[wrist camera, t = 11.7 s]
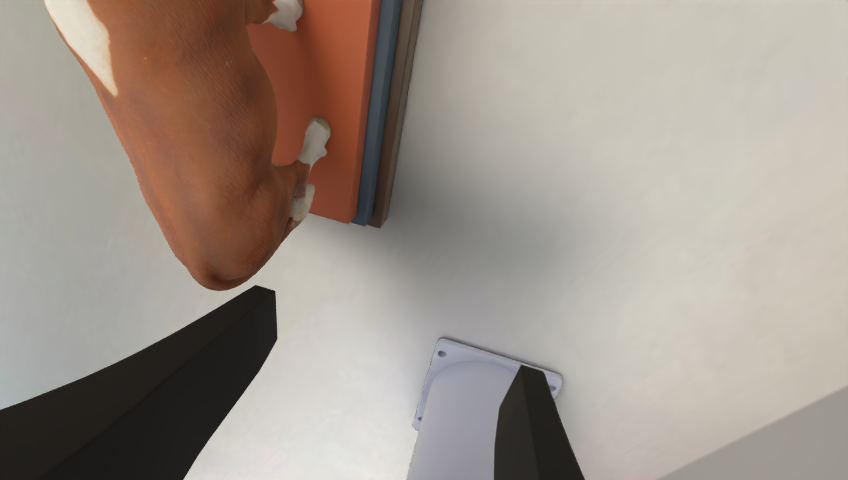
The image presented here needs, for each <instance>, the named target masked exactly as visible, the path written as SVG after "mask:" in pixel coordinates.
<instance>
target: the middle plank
mask: <svg viewBox="0 0 848 480" xmlns="http://www.w3.org/2000/svg"><path fill="white" fill-rule="evenodd" d="M401 4H402V0H381V4H380V13H379V22H378V30H377V39H376V48H375V56H374V65H373V74H372V82H371V91H370V100H369V108H368V117H367V126H366V134H365V143H364V152H363V160H362V169H361V178H360V186H359V195H358V204H357V212H356V216H355V217H354V218H353V219H352V221H351V223H355V224H358V225H362V226H366V224H367V223H368V222H369V221H370V219H371V218H372V212H373V205H374V198H375V190H376V183H377V176H378V169H379V162H380V155H381V147H382V140H383V133H384V126H385V119H386V112H387V105H388V97H389V90H390V83H391V76H392V69H393V62H394V54H395V47H396V40H397V33H398V26H399V19H400V11H401Z"/></svg>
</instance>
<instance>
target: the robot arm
mask: <svg viewBox="0 0 848 480" xmlns="http://www.w3.org/2000/svg"><path fill="white" fill-rule="evenodd" d="M276 340H277V318H276V296H275V291H274V290H270V289H267V288H264V287H260V286H257V285H255V286H253V287H252V288H250V289H248V290H246V291H245V292H243V293H241V294H240V295H238V296H236V297H235V298H233V299H231V300H230V301H228V302H226V303H225V304H223V305H221V306H220V307H218V308H216V309H215V310H213V311H211V312H210V313H208V314H206V315H205V316H203V317H201V318H199V319H198V320H196V321H194V322H192V323H191V324H189V325H187V326H186V327H184V328H182V329H180V330H179V331H177V332H175V333H173V334H171V335H170V336H168V337H166V338H164V339H162V340H160V341H158V342H156V343H154V344H152V345H151V346H149V347H147V348H145V349H143V350H141V351H139V352H137V353H135V354H133V355H131V356H129V357H127V358H125V359H123V360H121V361H119V362H117V363H115V364H113V365H110V366H108V367H106V368H104V369H102V370H99V371H97V372H95V373H93V374H91V375H88V376H86V377H84V378H81V379H79V380H77V381H74V382H72V383H69V384H67V385H64V386H62V387H59V388H57V389H54V390H52V391H49V392H47V393H44V394H42V395H39V396H37V397H34V398H32V399H29V400H26V401H24V402H21V403H18V404H16V405H13V406H10V407H7V408H4V409H2V410H0V480H183V479H184V478H185V476H186V474H187V473H188V471H189V469H190V468H191V466H192V464H193V463H194V461H195V460H196V458H197V456H198V455H199V453H200V452H201V450H202V449H203V448H204V446H205V445H206V443H207V442H208V440H209V439H210V437H211V436H212V435H213V433H214V432H215V431H216V429H217V428H218V427H219V425H220V424H221V423H222V421H223V420H224V418H225V417H226V416H227V414H228V413H229V412H230V410H231V409H232V408H233V406H234V405H235V404H236V402H237V401H238V400H239V398H240V397H241V395H242V394H243V393H244V391H245V390H246V389H247V387H248V386H249V384H250V383H251V382H252V380H253V379H254V378H255V376H256V375H257V373H258V372H259V371H260V369H261V367H262V365H263V364H264V362H265V360H266V359H267V357H268V355H269V353H270V351H271V350H272V348H273V346H274V344H275V342H276ZM441 351H444V352H441ZM562 386H563V378H562V376H561V375H559V374H557V373H554V372H550V371H547V370H544V369H541V368H538V367H534V366H531V365H528V364H525V363H522V362H518V361H515V360H512V359H509V358H506V357H502V356H499V355H496V354H493V353H490V352H486V351H483V350H480V349H477V348H474V347H470V346H467V345H464V344H461V343H458V342H454V341H451V340H448V339H440V340H438V342H437V344H436V348H435V351H434V354H433V358H432V361H431V364H430V368H429V371H428V374H427V378H426V381H425V384H424V388H423V391H422V394H421V398H420V401H419V404H418V407H417V411H416V414H415V417H414V421H413V424H412V426H413V428H414V429H415V430H417V431H419V432H418V436H417V440H416V444H415V448H414V452H413V455H412V459H411V463H410V467H409V471H408V475H407V479H406V480H585V479H584V476H583V474H582V472H581V470H580V467H579V465H578V462H577V460H576V458H575V455H574V453H573V450H572V448H571V445H570V443H569V440H568V438H567V435H566V433H565V430H564V427H563V425H562V422H561V419H560V417H559V414H558V411H557V408H556V405H555V403H554V399H555V397H556V396H557V394H558V392H559V391H560V389H561V387H562Z"/></svg>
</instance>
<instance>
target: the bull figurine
mask: <svg viewBox="0 0 848 480" xmlns="http://www.w3.org/2000/svg"><path fill="white" fill-rule="evenodd" d="M43 1H44V3H45V5H46V8H47V10H48V13H49V15H50V17H51V19H52V21H53V23H54V25H55V27H56V29H57V31H58V33H59V34H60V36H61V38H62V39H63V41H64V42H65V43H66V45H67V46H68V48H69V49H70V50H71V52H72V53H73V54H74V56H75V57H76V58H77V60H78V61H79V63H80V64H81V66H82V67H83V69H84V70H85V72H86V74H87V75H88V77H89V79H90V81H91V83H92V85H93V86H94V88H95V90H96V93H97V95H98V97H99V99H100V101H101V103H102V105H103V107H104V109H105V111H106V113H107V115H108V117H109V119H110V121H111V123H112V125H113V127H114V129H115V132H116V134H117V136H118V138H119V140H120V142H121V144H122V146H123V148H124V149H125V151H126V153H127V155H128V157H129V159H130V161H131V163H132V165H133V168H134V170H135V173H136V176H137V179H138V182H139V185H140V188H141V191H142V194H143V196H144V198H145V200H146V202H147V204H148V206H149V208H150V210H151V212H152V213H153V215H154V217H155V219H156V220H157V222H158V224H159V226H160V228H161V230H162V232H163V234H164V236H165V238H166V240H167V242H168V244H169V246H170V248H171V249H172V251H173V253H174V254H175V256H176V257H177V258H178V259H179V260H180V261H181V262H182V264H183V265H184V266H186V267H187V269H188V271H189V272H190V274H191V275H192V277H193V278H194V279H195V280H196V281H197V282H198V283H199V284H200V285H202V286H203V287H205V288H207V289H211V290H216V291H222V290H229V289H232V288H235V287H237V286H239V285H241V284H242V283H244V282H246V281H247V280H249V279H250V278H251V277H252V276H253V275H255V274H256V273H257V272H258V271H259V270H260V269H261V268H262V267H263V266H264V265H265V264H266V262H267V261H268V260H269V259H270V258H271V257H272V255H273V254H274V253H275V251H276V250H277V249H278V247H279V246H280V244H281V243H282V242H283V241H284V239H285V238H286V237H287V236H288V235H289V233H290V232H291V231H292V230H293V229H294V228H296V227H297V226H298V225H299V224H300V223H301V222H302V221H303V219H304V218H305V217H306V215H307V214H308V212H309V210H310V207H311V203H312V201H313V195H314V193H315V187H314V185H313V184H307V180H308V177H309V173H310V171H311V169H312V166H313V165H314V163H315V162H316V161H317V160H318V159H319V158H320V157H323V156H325V155H326V154H327V150H326V149H325V144H326V142H327V140H328V139H329V138H330V137H331V133H332V132H331V127H330V125H329V124H328V122H327V121H326V120H325V119H323V118H319V117H313V118H312V119H311V121H310V122H309V124H308V128H307V130H306V133H305V139H304V146H303V149H302V151H301V153H300V155H299V156H298V158H297V159H296V160H295V161H294V162H293V163H291V164H290V165H286V166H282V165H280V164H273V163H272V154H273V150H274V146H275V142H276V137H277V129H278V111H277V102H276V97H275V93H274V90H273V87H272V84H271V82H270V79H269V77H268V75H267V73H266V71H265V69H264V68H263V66H262V64H261V63H260V61H259V60H258V58H257V56H256V55H255V53H254V51H253V49H252V47H251V43H250V39H249V35H248V31H247V28H246V25H249V24H250V23H254V24H257V25H261V24H264V23H267V22H270V23H272V24H274V26H275V27H277V28H280V29H286V30H287V31H290V32H294V31H296V30H297V27H296V21H297V20H298V19H299V18H300V17H301V16H302V15H303V11H304V5H303V2H302V0H275V2H272V1H271V0H43Z"/></svg>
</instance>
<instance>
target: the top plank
mask: <svg viewBox="0 0 848 480" xmlns="http://www.w3.org/2000/svg"><path fill="white" fill-rule="evenodd" d="M271 1H272V2H275V0H271ZM302 2H303V5H304V11H303V15H302V16H301V17H300V18H299V19H298V20H297V21H296V27H297V30H296V31H294V32H290V31H287V30H286V29H280V28H277V27H275V26H274V24H272V23H270V22H267V23H264V24H261V25H257V24H254V23H250V24H249V25H246V28H247V31H248V35H249V39H250V43H251V47H252V49H253V51H254V53H255V55H256V56H257V58H258V60H259V61H260V63H261V64H262V66H263V68H264V69H265V71H266V73H267V75H268V77H269V79H270V82H271V84H272V87H273V90H274V93H275V97H276V102H277V111H278V129H277V137H276V142H275V146H274V150H273V154H272V163H273V164H280V165H282V166H286V165H290V164H291V163H293V162H294V161H295V160H296V159H297V158H298V156H299V155H300V153H301V151H302V149H303V146H304V139H305V133H306V130H307V128H308V124H309V122H310V121H311V119H312V118H313V117H319V118H323V119H325V120H326V121H327V122H328V124H329V125H330V127H331V132H332V133H331V137H330V138H329V139H328V140H327V142H326V144H325V149H326V150H327V154H326V155H325V156H323V157H320V158H319V159H318V160H317V161H316V162H315V163H314V165H313V166H312V169H311V171H310V173H309V177H308V180H307V184H313V185H314V187H315V193H314V195H313V201H312V203H311V207H310V210H309V213H312V214H316V215H319V216H322V217H326V218H329V219H333V220H336V221H339V222H343V223H346V224H349V223H350V222H351V221H352V219H353V218H354V217H355V216H356V212H357V204H358V195H359V186H360V178H361V169H362V160H363V152H364V143H365V134H366V126H367V117H368V108H369V100H370V91H371V82H372V74H373V65H374V56H375V48H376V39H377V30H378V22H379V13H380V4H381V0H302Z"/></svg>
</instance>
